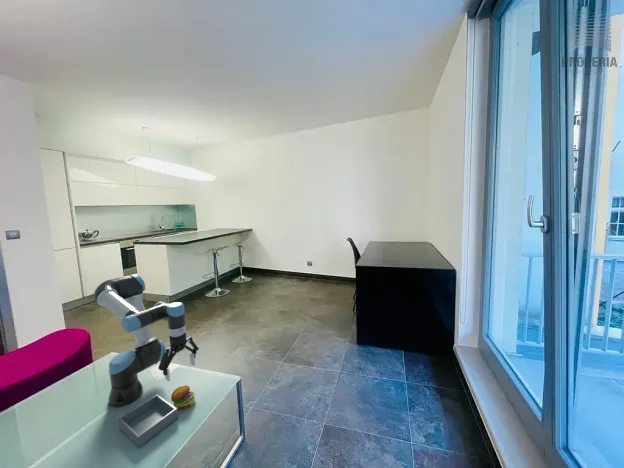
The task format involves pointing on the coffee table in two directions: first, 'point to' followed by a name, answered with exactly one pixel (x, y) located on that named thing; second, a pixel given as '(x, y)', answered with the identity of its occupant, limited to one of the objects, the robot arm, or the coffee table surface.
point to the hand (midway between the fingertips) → (180, 371)
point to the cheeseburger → (182, 397)
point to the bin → (147, 420)
